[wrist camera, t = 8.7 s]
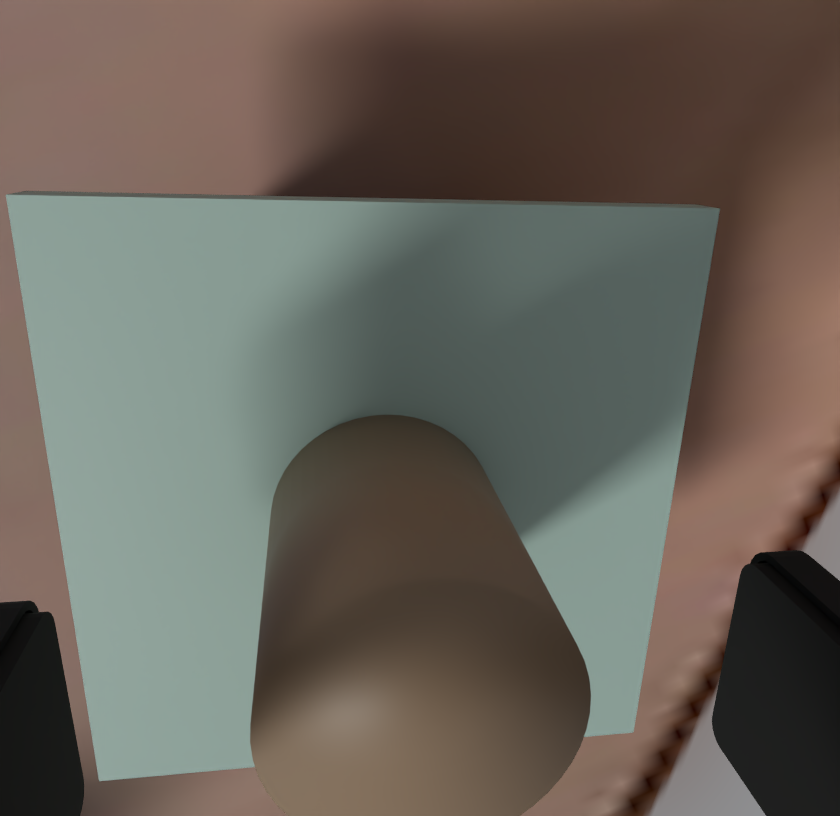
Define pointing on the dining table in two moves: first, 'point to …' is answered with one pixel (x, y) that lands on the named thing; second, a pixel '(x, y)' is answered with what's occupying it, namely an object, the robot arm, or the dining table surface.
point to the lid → (361, 479)
